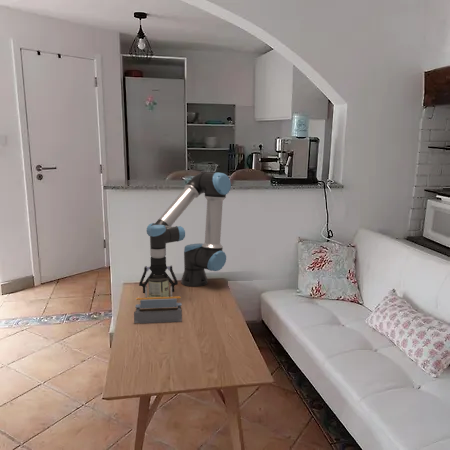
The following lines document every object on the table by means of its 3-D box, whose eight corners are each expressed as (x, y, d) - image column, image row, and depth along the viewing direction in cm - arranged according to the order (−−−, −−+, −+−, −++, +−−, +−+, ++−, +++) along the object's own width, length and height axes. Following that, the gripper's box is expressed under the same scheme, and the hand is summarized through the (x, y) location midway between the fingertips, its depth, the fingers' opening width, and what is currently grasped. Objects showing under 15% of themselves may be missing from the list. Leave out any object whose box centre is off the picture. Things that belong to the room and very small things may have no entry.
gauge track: (180, 307, 211) (180, 297, 211) (181, 321, 193) (181, 311, 192) (136, 309, 209) (136, 299, 208) (134, 323, 190) (133, 313, 190)
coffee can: (151, 300, 221) (151, 273, 219) (171, 301, 220) (171, 274, 218) (146, 307, 211) (145, 279, 209) (166, 308, 210) (166, 280, 208)
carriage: (181, 304, 210) (181, 295, 210) (181, 307, 208) (181, 297, 207) (135, 306, 207) (135, 297, 207) (135, 308, 205) (135, 299, 204)
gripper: (182, 254, 217) (182, 295, 220) (133, 255, 214) (135, 297, 217) (183, 257, 210) (183, 300, 213) (132, 258, 206) (133, 302, 210)
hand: (158, 298), depth 215 cm, fingers open, 12 cm apart
